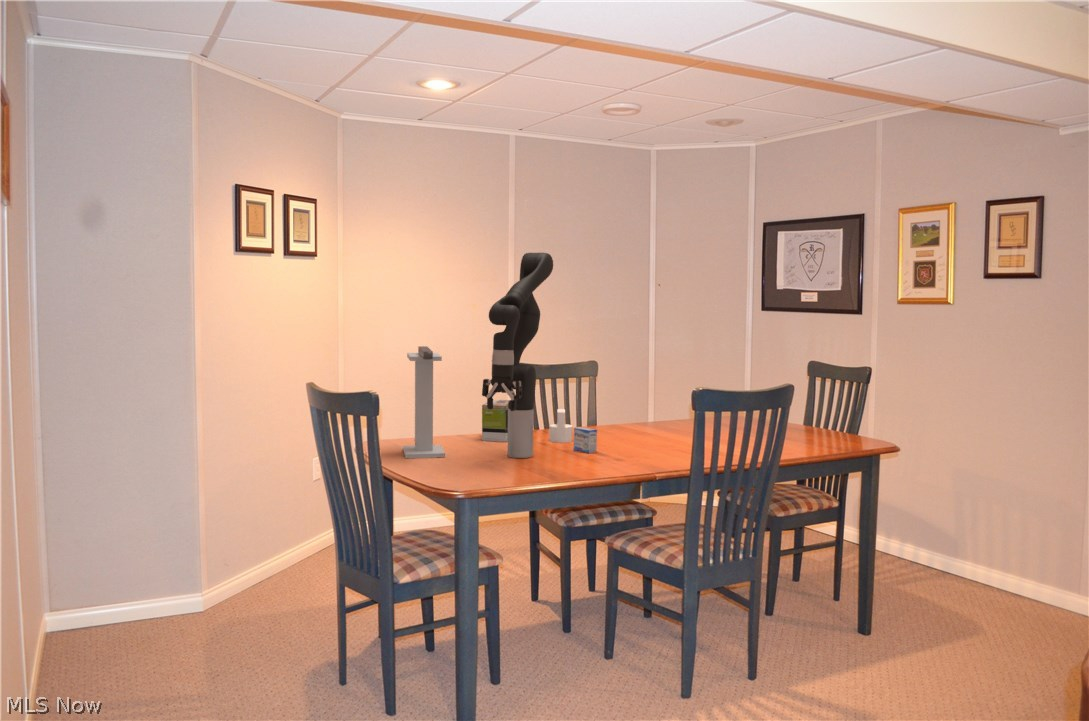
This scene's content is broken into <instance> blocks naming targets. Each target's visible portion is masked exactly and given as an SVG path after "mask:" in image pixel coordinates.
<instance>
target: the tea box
mask: <svg viewBox="0 0 1089 721" xmlns="http://www.w3.org/2000/svg"><path fill="white" fill-rule="evenodd" d="M510 400H511V399H508V400H507V399H493V409H488V408H487V402H485V403H484V404H482V405H481V426H482V427H481V433H482V434H481V437H482V438H481V440H482V441H483V442H495V441H498V442H499V443H505V442H508V402H509V401H510Z"/></svg>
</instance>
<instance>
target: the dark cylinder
mask: <svg viewBox="0 0 1089 721" xmlns="http://www.w3.org/2000/svg"><path fill="white" fill-rule="evenodd" d="M417 348H418V349H417V351H418V352H417V353H419V355H420V356H421V357H422V358H423V359H433V353H434V352H433V350H432V349H431V348H430V347H429V346H426V345H425V346H424V345H423V346H417Z"/></svg>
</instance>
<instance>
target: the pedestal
mask: <svg viewBox="0 0 1089 721" xmlns="http://www.w3.org/2000/svg"><path fill="white" fill-rule="evenodd" d="M406 356H407V358H408V360H409V361H410V362H414V445H403V446H402V451H404V452H403V455H404V458H409V459H436V458H437V459H439V458H438V457H445V458H446V451H445V450H444V449H443V447H442V444H434V362H442V361H443V359H442V355H441V354H440V353H438V352H433V359H423V358H422V357H421V356H420V355H419V353H418V352H407V355H406Z"/></svg>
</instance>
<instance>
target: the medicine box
mask: <svg viewBox="0 0 1089 721" xmlns="http://www.w3.org/2000/svg"><path fill="white" fill-rule="evenodd" d="M597 444H598V429H595V428H590V427H589V428H588V427H584V426H583V427H582V426H577V427H574V428H573V451H574V452H578V451H580V452H579V453H584V452H586V454H592V452H594V453H596V452H597V448H598V447H597Z"/></svg>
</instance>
